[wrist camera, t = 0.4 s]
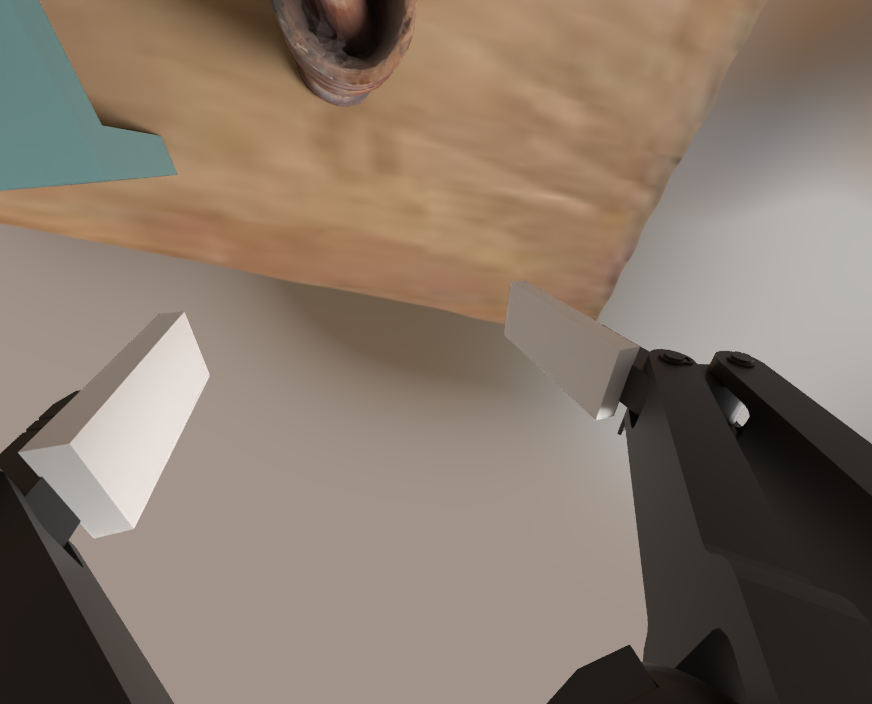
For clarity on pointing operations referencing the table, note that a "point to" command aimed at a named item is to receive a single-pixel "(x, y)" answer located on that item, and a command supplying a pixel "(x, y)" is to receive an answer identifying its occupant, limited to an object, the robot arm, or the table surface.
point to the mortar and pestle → (346, 43)
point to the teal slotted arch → (58, 115)
